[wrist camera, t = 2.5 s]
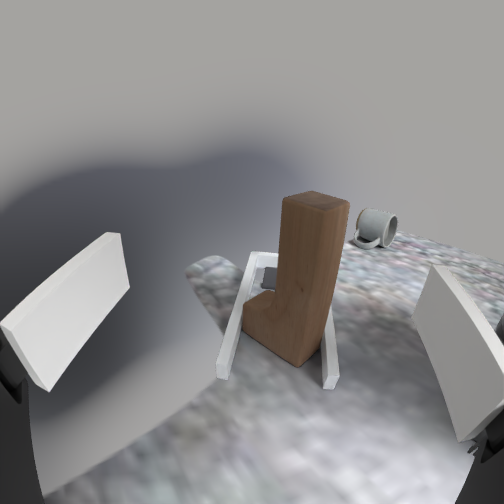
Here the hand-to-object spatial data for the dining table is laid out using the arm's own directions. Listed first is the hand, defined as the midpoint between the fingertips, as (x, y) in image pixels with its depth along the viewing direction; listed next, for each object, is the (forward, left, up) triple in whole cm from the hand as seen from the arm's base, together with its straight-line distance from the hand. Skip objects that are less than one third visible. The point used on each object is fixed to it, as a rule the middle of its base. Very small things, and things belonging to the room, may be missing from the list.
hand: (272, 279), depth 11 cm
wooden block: (-1, -15, -19) cm, 24 cm away
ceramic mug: (-21, -48, -19) cm, 55 cm away
